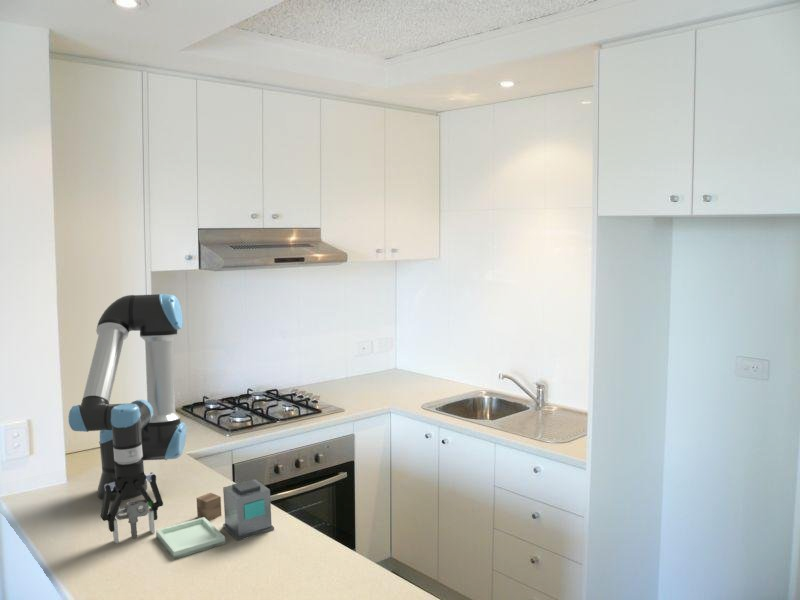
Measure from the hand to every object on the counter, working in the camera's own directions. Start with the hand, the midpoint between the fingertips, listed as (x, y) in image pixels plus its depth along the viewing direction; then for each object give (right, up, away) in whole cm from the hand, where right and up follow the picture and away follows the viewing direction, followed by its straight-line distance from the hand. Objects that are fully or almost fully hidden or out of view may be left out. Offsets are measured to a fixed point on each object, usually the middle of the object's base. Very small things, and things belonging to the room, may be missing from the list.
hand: (134, 536), depth 200 cm
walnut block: (+18, +2, +13) cm, 22 cm away
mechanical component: (0, 0, 0) cm, 0 cm away
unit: (+32, +1, +4) cm, 32 cm away
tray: (+17, 0, -3) cm, 17 cm away
